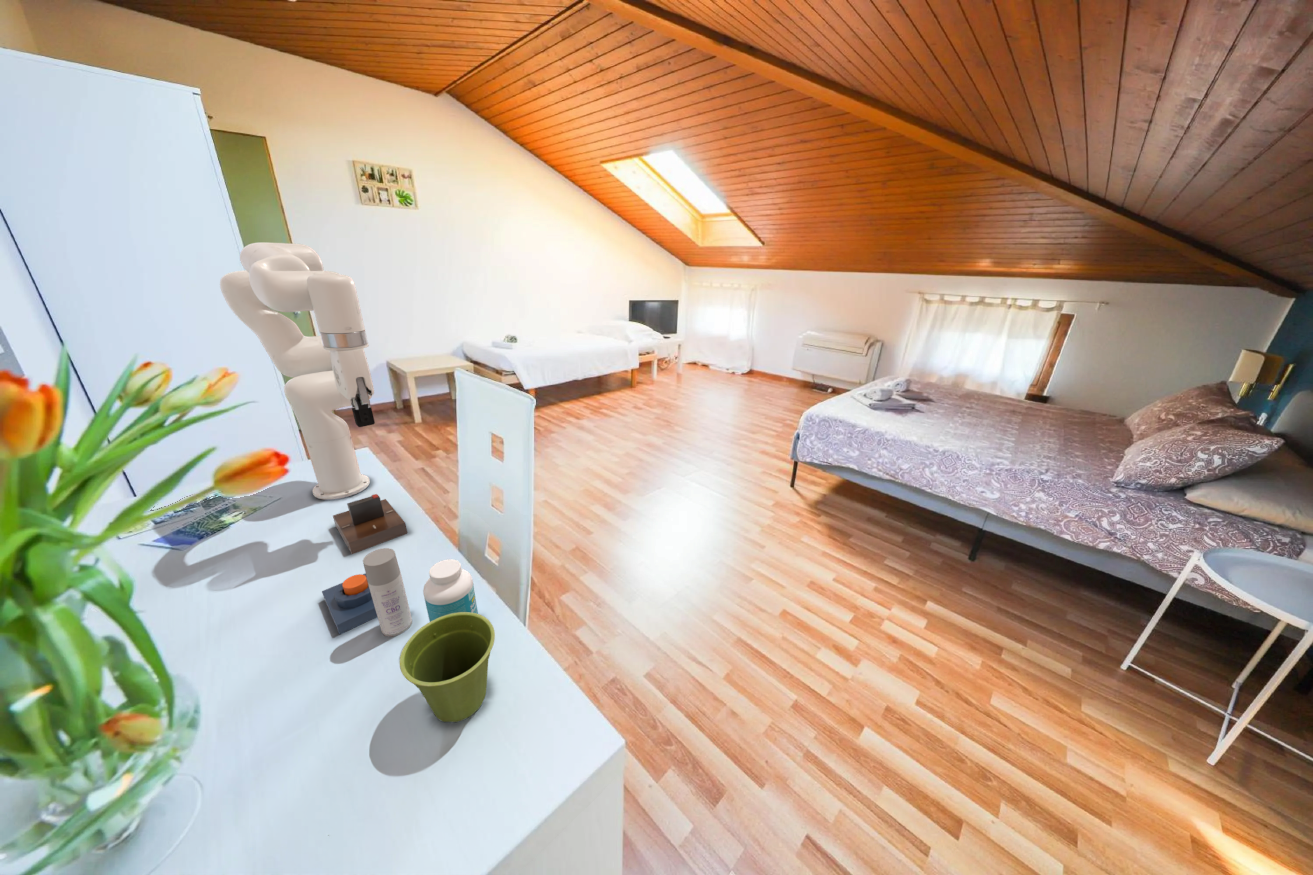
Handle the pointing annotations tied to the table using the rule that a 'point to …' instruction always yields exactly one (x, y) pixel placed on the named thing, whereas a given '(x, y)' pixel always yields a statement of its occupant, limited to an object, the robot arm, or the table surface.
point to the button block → (349, 607)
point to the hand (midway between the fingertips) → (365, 424)
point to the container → (387, 591)
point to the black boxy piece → (365, 509)
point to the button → (355, 584)
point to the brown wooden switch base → (370, 529)
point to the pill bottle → (449, 590)
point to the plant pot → (450, 663)
